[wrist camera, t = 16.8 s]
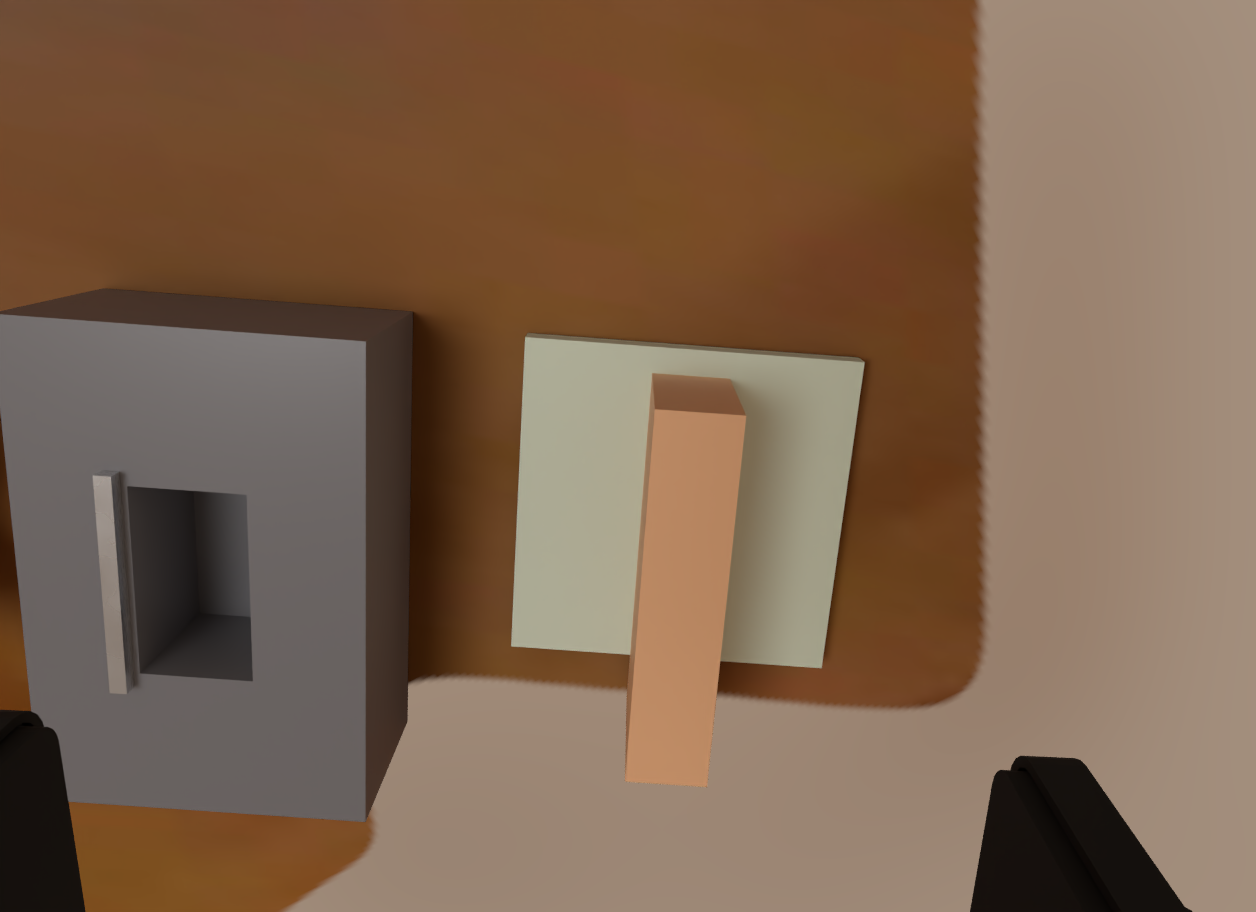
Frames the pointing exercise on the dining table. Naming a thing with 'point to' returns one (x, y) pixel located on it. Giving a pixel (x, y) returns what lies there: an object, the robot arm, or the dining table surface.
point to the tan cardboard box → (682, 577)
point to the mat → (613, 488)
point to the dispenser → (213, 545)
